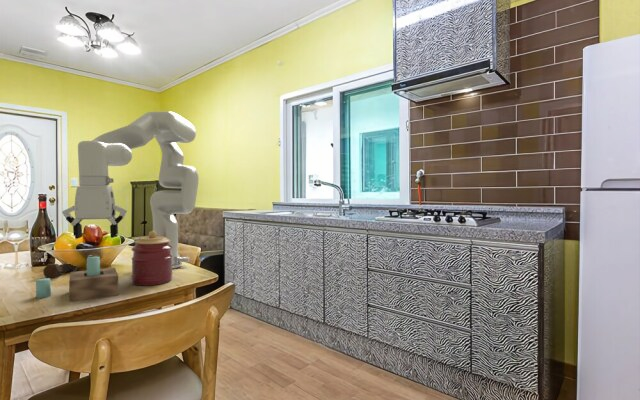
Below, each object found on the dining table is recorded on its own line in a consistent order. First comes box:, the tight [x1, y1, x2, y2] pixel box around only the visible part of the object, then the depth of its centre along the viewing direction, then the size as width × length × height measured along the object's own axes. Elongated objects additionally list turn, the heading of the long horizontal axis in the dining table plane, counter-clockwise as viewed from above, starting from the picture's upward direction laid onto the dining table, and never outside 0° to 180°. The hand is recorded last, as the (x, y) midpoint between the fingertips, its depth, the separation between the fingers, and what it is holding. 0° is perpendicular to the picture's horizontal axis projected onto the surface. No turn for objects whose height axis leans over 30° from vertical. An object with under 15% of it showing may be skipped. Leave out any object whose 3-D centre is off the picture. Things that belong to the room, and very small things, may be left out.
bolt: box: [42, 262, 79, 279], centre depth 131 cm, size 6×5×15 cm
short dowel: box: [35, 277, 52, 299], centre depth 103 cm, size 3×3×5 cm
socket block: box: [68, 267, 119, 303], centre depth 107 cm, size 12×12×6 cm
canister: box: [130, 230, 173, 286], centre depth 122 cm, size 13×13×18 cm
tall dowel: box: [86, 256, 101, 276], centre depth 107 cm, size 3×3×11 cm
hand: (96, 237), depth 108 cm, fingers open, 9 cm apart
